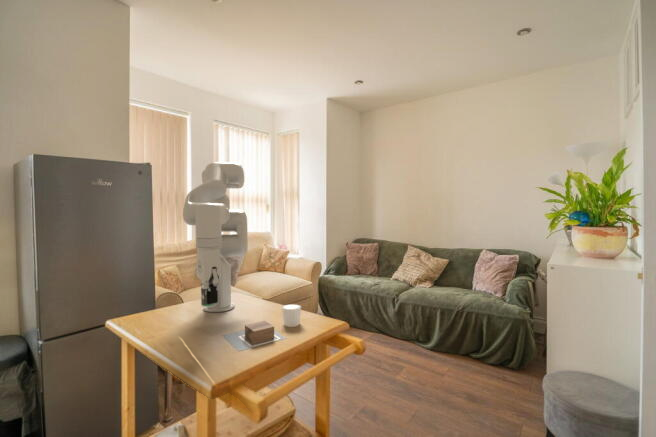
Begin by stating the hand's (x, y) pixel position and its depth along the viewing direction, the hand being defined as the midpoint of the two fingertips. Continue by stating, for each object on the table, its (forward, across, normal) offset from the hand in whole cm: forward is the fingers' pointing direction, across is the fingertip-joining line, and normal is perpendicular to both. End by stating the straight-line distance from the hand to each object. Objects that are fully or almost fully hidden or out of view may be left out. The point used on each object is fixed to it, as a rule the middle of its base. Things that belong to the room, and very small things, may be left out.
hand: (209, 300), depth 99 cm
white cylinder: (+14, +2, +29) cm, 32 cm away
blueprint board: (+14, +5, +13) cm, 19 cm away
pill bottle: (+2, 0, 0) cm, 2 cm away
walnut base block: (+13, +7, +14) cm, 20 cm away
